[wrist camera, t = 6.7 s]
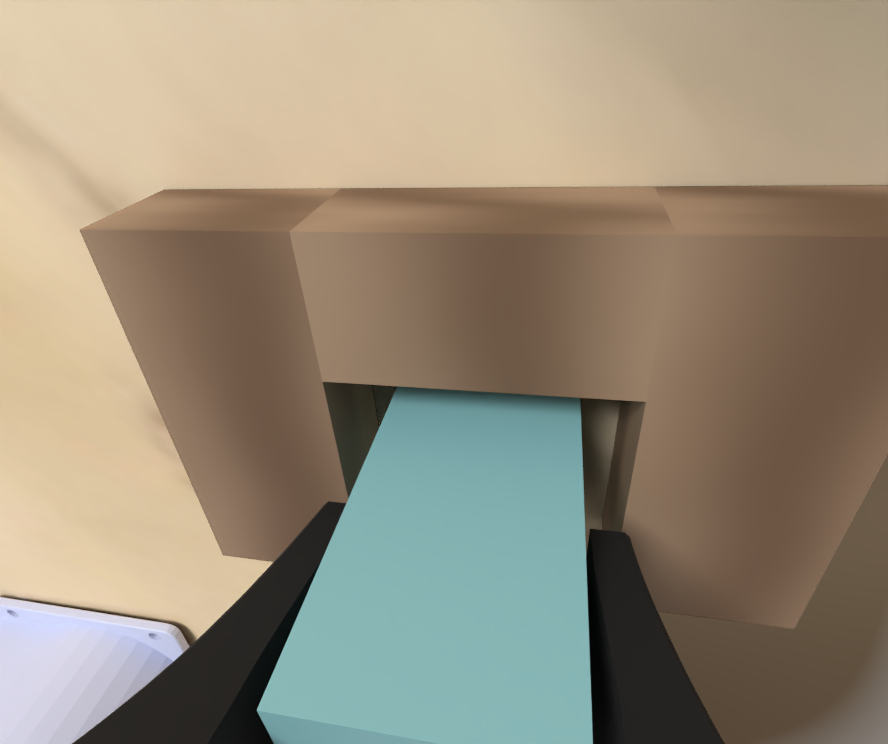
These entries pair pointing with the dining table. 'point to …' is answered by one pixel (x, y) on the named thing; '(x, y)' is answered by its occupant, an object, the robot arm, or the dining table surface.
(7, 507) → the dining table surface
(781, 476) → the u-shaped block
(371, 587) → the peg
